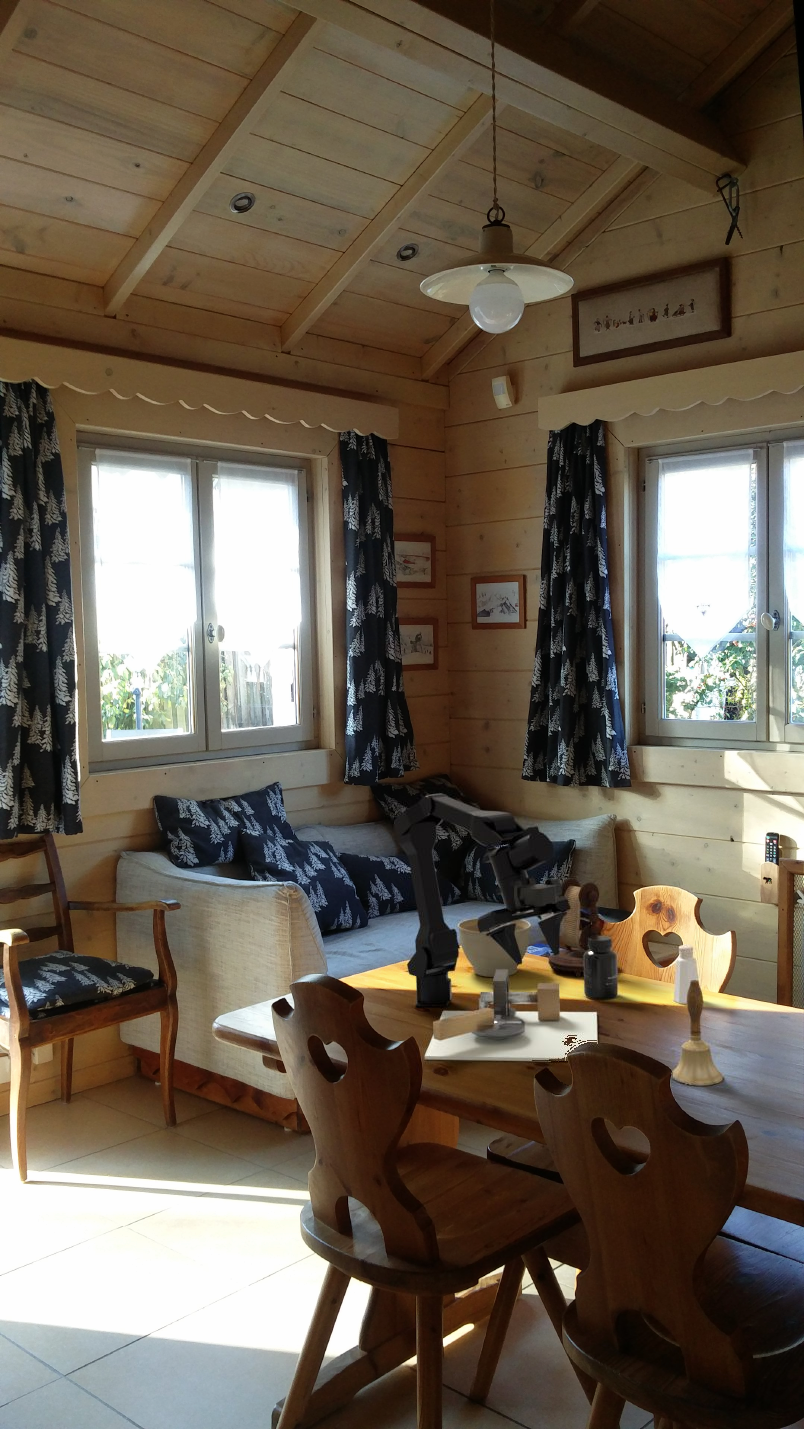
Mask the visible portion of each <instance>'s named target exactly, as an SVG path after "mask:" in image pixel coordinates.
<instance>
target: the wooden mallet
mask: <svg viewBox="0 0 804 1429" xmlns="http://www.w3.org/2000/svg"><path fill="white" fill-rule="evenodd" d="M479 994H480V996H479V997H480V998H478V1010H480V1009H483V1008H490V1004H492V1005H494V1001H493V991H480V993H479ZM560 1003H561V1002H560V983H553V982H552V983H551V982H550V983H549V982H548V983H546V982H545V983H542V982H541V983H539V982H538V983H537V989H536V991H509V992H507V1004H511V1005H512V1004H513V1005H519V1004H520V1005H522V1004H524V1005H537V1012H538V1020H560V1012H561V1008H560V1007H561V1004H560Z"/></svg>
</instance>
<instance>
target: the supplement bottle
mask: <svg viewBox="0 0 804 1429" xmlns="http://www.w3.org/2000/svg"><path fill="white" fill-rule="evenodd" d="M588 947H589V950H587V951H586V952H585V953H584V971H583V989H584V990H583V991H584V992H583V993H584V995H585V997H586V998H588V999H591V1000H599V1001H602V1000H603V1001H605V1000H613V999H615V998H617V996H618V993H619V992H618V991H619V990H618V989H619V988H618V986H619V984H618V980H619V979H618V978H619V977H618V955H617V952H615V951H614V950H612V948H613V939H612V937H611V936H607V935H601V936H591V937H589V938H588Z"/></svg>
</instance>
